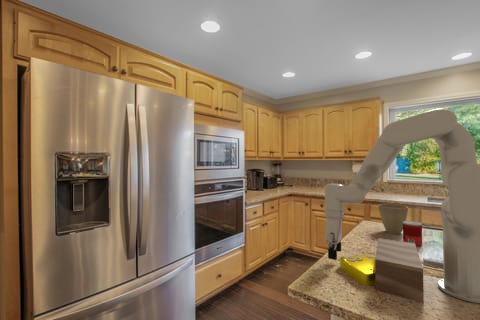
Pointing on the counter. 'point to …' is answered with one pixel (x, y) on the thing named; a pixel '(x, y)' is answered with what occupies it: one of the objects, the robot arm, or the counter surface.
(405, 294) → the brown wooden block
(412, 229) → the canned food
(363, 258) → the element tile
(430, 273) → the counter surface
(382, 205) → the plant pot
